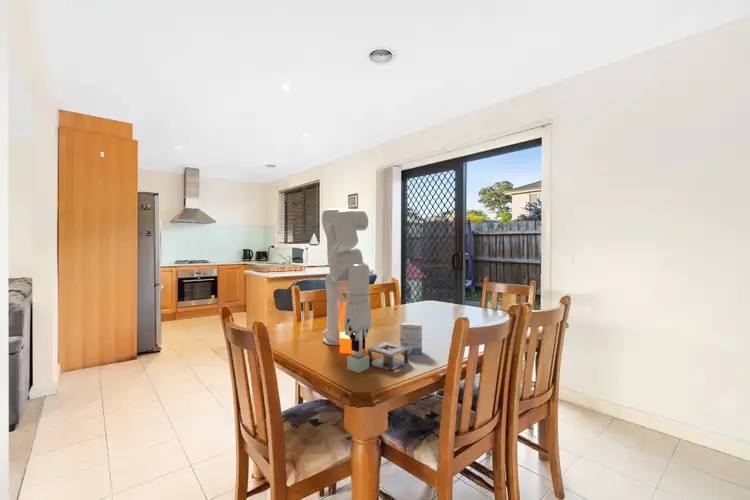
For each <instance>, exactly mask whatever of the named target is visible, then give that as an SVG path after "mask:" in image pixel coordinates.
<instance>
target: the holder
mask: <svg viewBox="0 0 750 500" xmlns="http://www.w3.org/2000/svg"><path fill="white" fill-rule="evenodd" d="M346 366H347V367H346V369H347V370H349V371H352V372H355V373H359V374H360V373H361V372H364V371H366V370H369V369H370V365H369V356H368V355H367V354H364V353H363V356H362V358H361V359H356V358H355V354H353V353H352V354H350V355H348V356H346Z"/></svg>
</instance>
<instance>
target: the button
mask: <svg viewBox="0 0 750 500" xmlns="http://www.w3.org/2000/svg"><path fill="white" fill-rule="evenodd" d="M382 355H383V354H382ZM382 357H383V363H385V364H388V356H387V355H383V356H382Z"/></svg>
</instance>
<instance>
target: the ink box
mask: <svg viewBox="0 0 750 500" xmlns="http://www.w3.org/2000/svg"><path fill="white" fill-rule="evenodd" d="M399 328H400V329H399V330H400V333H399V334H400V335H399V340H400V341H399V342H400V343H399V345H401V346H406V347H409V355H418V356H420V355H422V353H423V323H414V322H402V323H400V326H399ZM400 354H404V352H401V353H400Z"/></svg>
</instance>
